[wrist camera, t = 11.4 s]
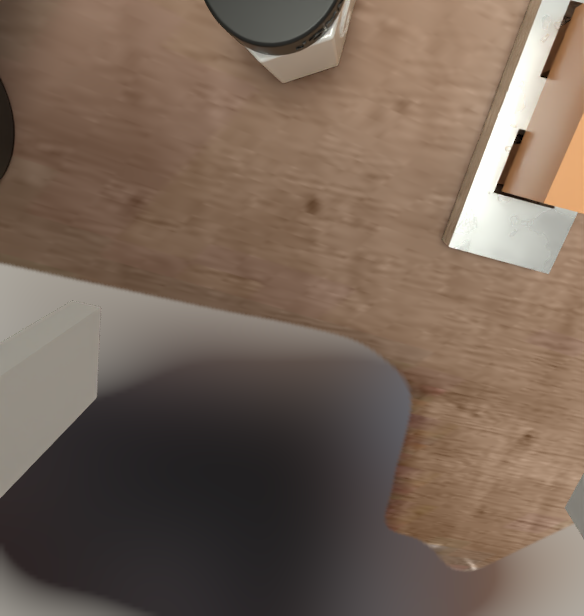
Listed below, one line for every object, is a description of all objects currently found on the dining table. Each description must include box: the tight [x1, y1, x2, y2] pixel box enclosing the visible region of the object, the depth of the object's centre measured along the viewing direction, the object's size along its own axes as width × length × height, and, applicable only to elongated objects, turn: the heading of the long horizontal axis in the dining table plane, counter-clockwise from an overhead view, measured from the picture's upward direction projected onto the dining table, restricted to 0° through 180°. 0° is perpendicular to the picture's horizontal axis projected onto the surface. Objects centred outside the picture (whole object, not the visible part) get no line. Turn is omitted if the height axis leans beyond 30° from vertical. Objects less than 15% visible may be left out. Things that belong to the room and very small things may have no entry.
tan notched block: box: [498, 3, 584, 214], centre depth 29 cm, size 4×12×11 cm, turn 166°
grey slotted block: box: [442, 0, 584, 274], centre depth 33 cm, size 8×22×3 cm, turn 166°
